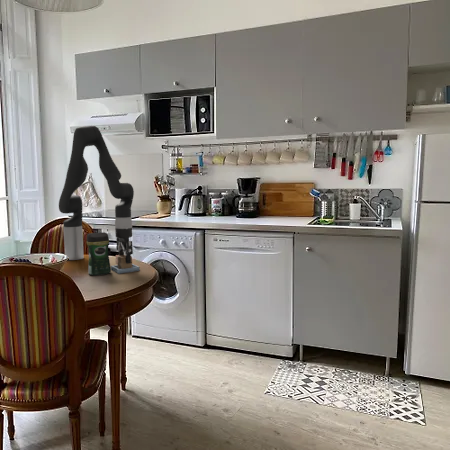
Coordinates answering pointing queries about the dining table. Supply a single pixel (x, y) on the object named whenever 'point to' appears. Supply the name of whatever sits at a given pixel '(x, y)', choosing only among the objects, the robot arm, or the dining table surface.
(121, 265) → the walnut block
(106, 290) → the dining table surface
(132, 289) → the dining table surface
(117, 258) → the terracotta cube
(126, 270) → the blue grey tray
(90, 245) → the coffee jar
